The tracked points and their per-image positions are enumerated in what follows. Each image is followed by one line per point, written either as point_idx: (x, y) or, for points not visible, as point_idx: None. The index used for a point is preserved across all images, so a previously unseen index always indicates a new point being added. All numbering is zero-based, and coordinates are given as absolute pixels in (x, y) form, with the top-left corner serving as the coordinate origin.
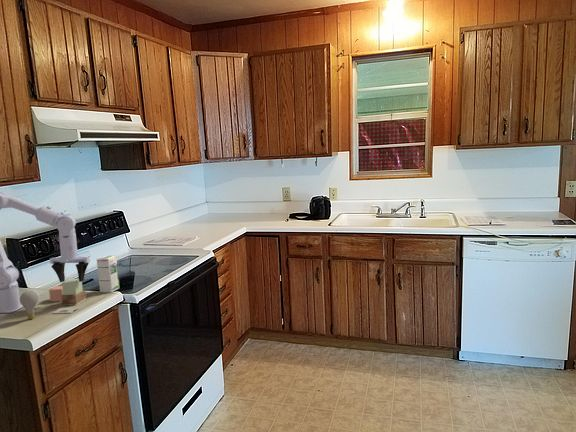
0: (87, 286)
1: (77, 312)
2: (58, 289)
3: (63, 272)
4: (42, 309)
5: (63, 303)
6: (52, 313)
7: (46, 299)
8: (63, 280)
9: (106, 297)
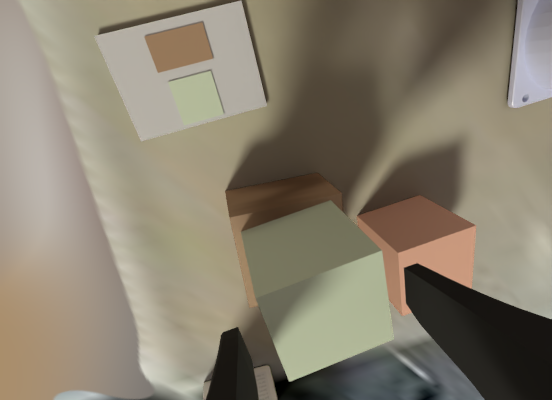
0: (387, 383)
1: (72, 70)
2: (416, 245)
3: (470, 370)
4: (376, 73)
5: (312, 177)
6: (240, 2)
7: (460, 214)
8: (409, 295)
9: (161, 329)
